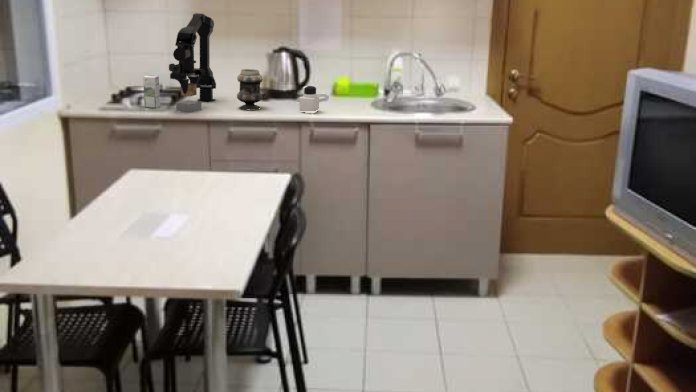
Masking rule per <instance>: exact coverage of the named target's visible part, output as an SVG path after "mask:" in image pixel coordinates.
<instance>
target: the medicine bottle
mask: <svg viewBox="0 0 696 392" xmlns="http://www.w3.org/2000/svg"><path fill="white" fill-rule="evenodd" d="M302 95H303V96H300V97H299V110H300V111H316V110H318V109H319V110H320V96H317V88H316V86H312V85H306V86H303V88H302Z"/></svg>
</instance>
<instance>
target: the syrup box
mask: <svg viewBox="0 0 696 392" xmlns="http://www.w3.org/2000/svg"><path fill="white" fill-rule="evenodd" d="M142 78H143V79H142V80H143V82H142V83H143V98H144V100H143V102H144V103H143V104H144V108H147V109H157V108H159V107H160V106H161V100H160V99H161V97H160V96H161V95H160V76H159V75H152V74H145V75H144V76H142Z"/></svg>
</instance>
